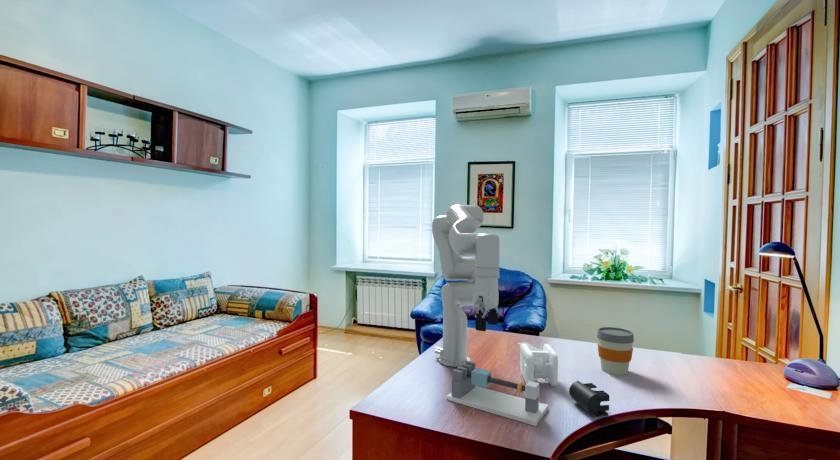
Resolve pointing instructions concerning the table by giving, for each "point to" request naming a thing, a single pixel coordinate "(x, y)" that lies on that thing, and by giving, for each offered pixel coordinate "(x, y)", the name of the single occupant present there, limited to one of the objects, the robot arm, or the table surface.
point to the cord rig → (497, 396)
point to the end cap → (589, 398)
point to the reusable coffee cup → (615, 349)
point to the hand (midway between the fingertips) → (486, 327)
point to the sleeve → (480, 377)
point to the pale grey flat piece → (531, 347)
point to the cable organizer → (539, 364)
